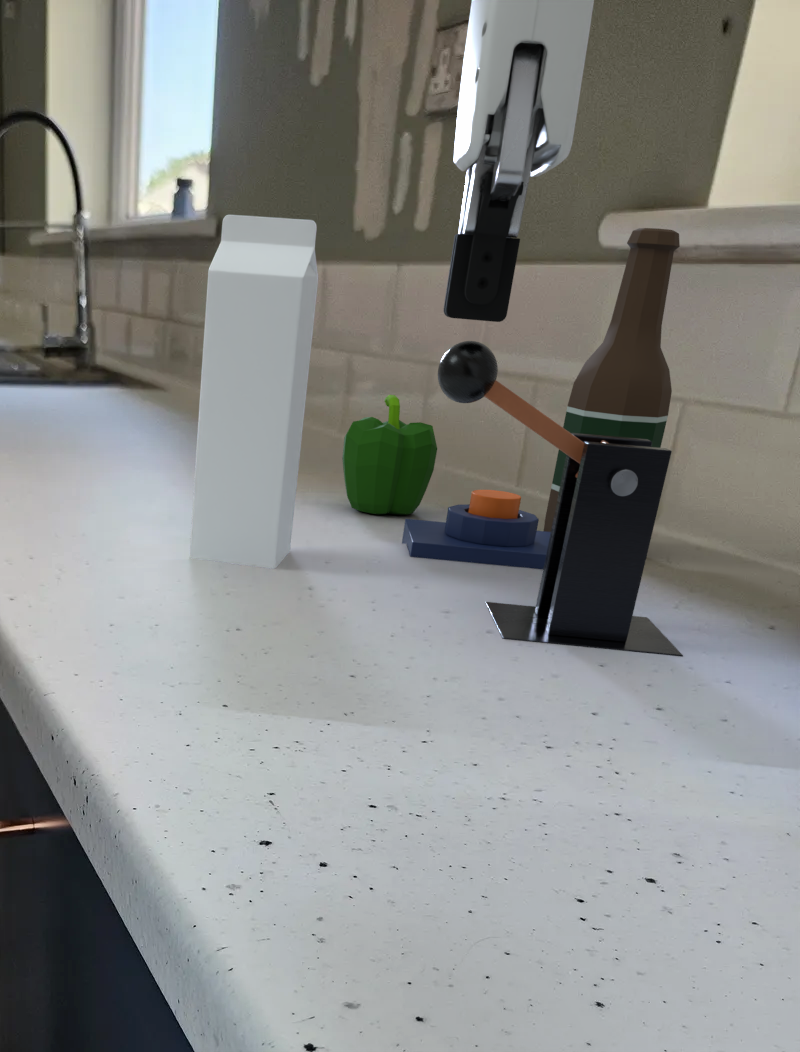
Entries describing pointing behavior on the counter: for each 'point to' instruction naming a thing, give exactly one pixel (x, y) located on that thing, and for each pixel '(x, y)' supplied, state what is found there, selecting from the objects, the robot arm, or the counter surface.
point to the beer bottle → (627, 358)
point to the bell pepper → (388, 463)
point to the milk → (253, 389)
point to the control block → (478, 539)
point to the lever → (497, 393)
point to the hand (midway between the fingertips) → (473, 318)
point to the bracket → (597, 552)
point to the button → (494, 504)
